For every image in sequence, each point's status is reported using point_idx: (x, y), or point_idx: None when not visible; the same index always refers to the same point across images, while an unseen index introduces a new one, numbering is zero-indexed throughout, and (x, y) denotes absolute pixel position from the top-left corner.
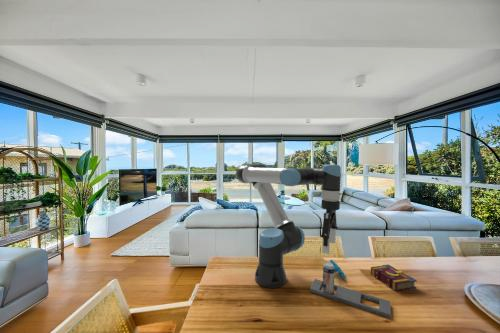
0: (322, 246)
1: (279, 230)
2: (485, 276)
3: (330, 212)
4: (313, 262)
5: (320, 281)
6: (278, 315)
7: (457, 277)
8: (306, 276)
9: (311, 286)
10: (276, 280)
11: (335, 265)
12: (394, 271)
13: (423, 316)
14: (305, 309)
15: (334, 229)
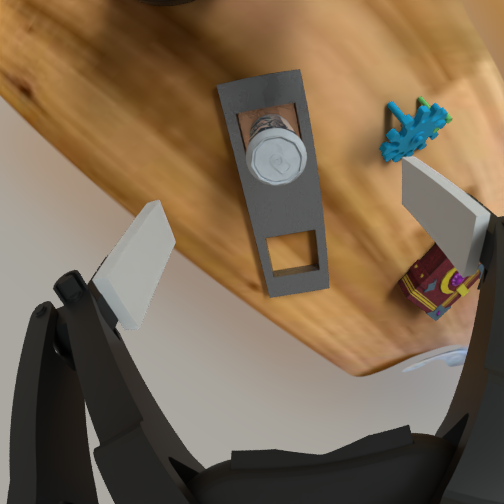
0: (129, 227)
1: None
2: None
3: None
4: (435, 26)
5: (295, 94)
6: (61, 103)
7: None
8: (311, 28)
9: (232, 83)
10: None
11: (411, 131)
12: (463, 281)
13: (325, 326)
14: (127, 129)
15: (464, 268)
